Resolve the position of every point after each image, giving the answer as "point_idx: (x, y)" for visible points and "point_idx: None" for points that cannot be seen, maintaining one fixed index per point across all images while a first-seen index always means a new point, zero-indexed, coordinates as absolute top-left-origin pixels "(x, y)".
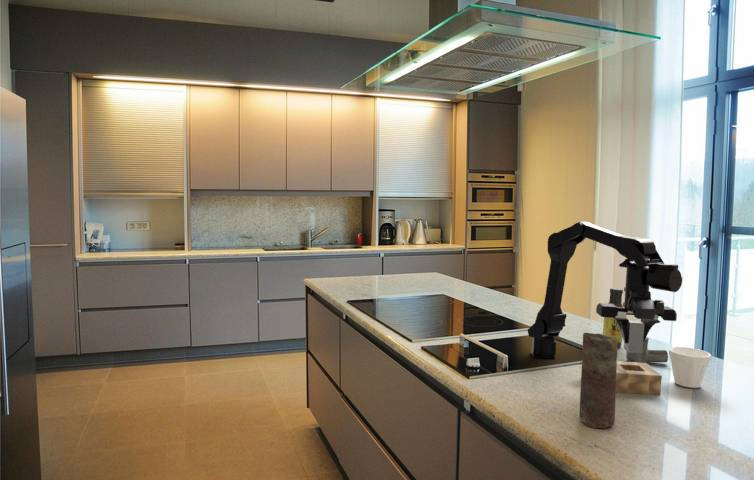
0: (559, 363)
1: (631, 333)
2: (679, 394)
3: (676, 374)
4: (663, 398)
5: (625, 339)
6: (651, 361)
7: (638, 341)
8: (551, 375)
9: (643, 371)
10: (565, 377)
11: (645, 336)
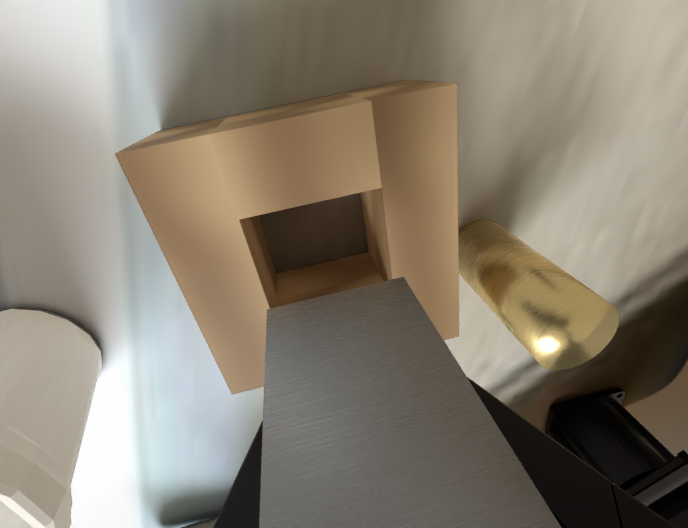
0: (548, 372)
1: (486, 480)
2: (54, 186)
3: (66, 364)
4: (138, 62)
5: (484, 394)
6: (210, 520)
7: (328, 393)
8: (641, 217)
9: (254, 212)
10: (589, 215)
11: (226, 525)
